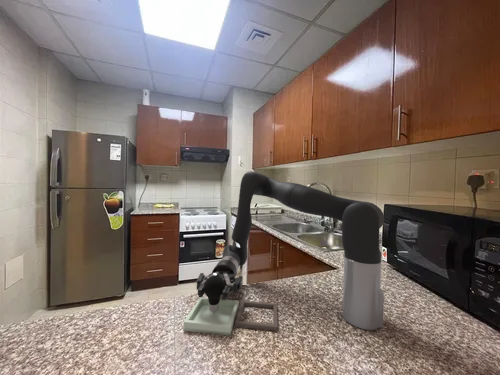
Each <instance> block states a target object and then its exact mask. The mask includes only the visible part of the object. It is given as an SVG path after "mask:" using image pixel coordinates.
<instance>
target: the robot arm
mask: <svg viewBox="0 0 500 375" xmlns="http://www.w3.org/2000/svg"><path fill="white" fill-rule="evenodd" d="M239 186H240V188H239V195H238V196H239V197H238V205H237V213H236V219H235V222H234V226H233V230H232V233H231V240H232V241H234V242H235V243H236V244H238V245H239V246H240V247H239V246H236V245H233V244H227V245H226V246H225V247H224V249H223V251H222V258H221V259H220V260H219V261H218V262H217V263H216V265H215V267H214V268H213V270H212V271H211V273H209V274H208V275H205V273H204V272H200V273H199V275H198V277H197V279H196V290H197V296H198V297H199V299H200V298H202V297H203V296H204V295H205V292H204V283H205V281H206V280H207V279H208V278H209V277H210V276H213V275H217V276H220V277H221V278H222V279H223V280H224V282H225V288H224V290H223V292H222V295H221V297H222V298H221V299H222V300H227V299H228V298H229V296H230V295H231V293H234V294H236V293H238V292H239V291H240V289H241V288H242V286H243V283H244V282H243V280H244V278H243V275H239V276H238V277H236V276H237V274H238V271H239V267H241V266H245V264H246V262H247V260H248V241H249V237H250V233H251V229H252V222H253V220H252V211H251V207H252V206H251V204H252V199H253V197H254V196H260V197H261V196H262V197H266V198H271V199H274V200H276V201H278V202H279V203H280V204H282V205H284V206H285V207H287V208H289V209H293V210H295V211H297V212H300V213H303V214H308V215H313V216H319V217H324V218H325V217H326V218H331V219H334V220H337V221H340V222H341V244H342V248H343V252H344V254H343V287H342V288H343V291H342V292H343V294H342V317H343V318H344V320H345V321H346V322H347V323H349V324H351V325H352V326H354V327H356V328H358V329H359V328H360V329H363V330H367V331H374V330H376V329H379V328H381V329H383V328H384V308H385V306H384V305H385V301H384V300H385V292H384V290H382V289H381V284H382V283H381V281H382V280H381V279H382V277H381V276H382V251H381V249H380V248H381V247H380V229H382V227H383V226H384V223H385V215H384V212H383V210H382V209H381V208H380V207H379V206H378V205H377V204H375V203H373V202H370V201H362V200H355V199H351V198H350V199H349V198H346V197H341V196H338V195H337V196H336V195H334V194H331V193H329V192H326V191H323V190H320V189H318V188H313V187H312V186H308V185H303V184H300V183H295V182H287V181H280V180H277V179H274V178H271V177H269V176H267V175H264V174H262V173H259V172H255V171H252V170H251V171H247V172H245V173H244V174H243V175H242V178H241V181H240V185H239Z"/></svg>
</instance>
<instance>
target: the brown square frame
mask: <svg viewBox="0 0 500 375" xmlns="http://www.w3.org/2000/svg"><path fill="white" fill-rule="evenodd" d="M244 307H252V308H253V307H255V308H263V309H264V308H265V309H273V317H272V318H273V323H266V322H265V323H264V322H256V321H247V320H245V321H243V320H241V319H242V315H243V312H244ZM234 327H237V328H246V329H252V330H253V329H256V330H262V331H263V330H264V331H271V332H272V331H274V332H278V304H277V303H273V302H264V301H252V300H251V301H249V300H241V301H240V304H239V308H238V311H237V315H236V318H235V322H234Z"/></svg>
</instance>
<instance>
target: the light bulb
mask: <svg viewBox="0 0 500 375" xmlns="http://www.w3.org/2000/svg"><path fill="white" fill-rule="evenodd" d="M224 288H225V282H224V280H223V279H222V278H221V277H220V276H217V275H213V276H210V277H209V278H208V279H207V280H206V281H205V283H204V292H205V293H204V295H205V296H206V298H208V300H209V304H210V311H211V312H213V313H215V312H216V311H217V310H218V308H219V301H220V299H221V297H222V292H223V290H224Z"/></svg>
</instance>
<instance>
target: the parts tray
mask: <svg viewBox="0 0 500 375" xmlns="http://www.w3.org/2000/svg"><path fill="white" fill-rule="evenodd" d="M239 301H240V300H237V299H236V300H235V299H225V300H222V298H220V301H219V308H218V310H217V311H216V312H215V313H213V312H211V311H210V304H209V300H208V297H203V296H202V298H200V297H199V299H198V300H197V301H196V303H195V304H194V306H193V307H192V309H191V310H190V312H189V313H188V314H187V316H186V318H185V319H184V321H183V331H184V332H193V333H203V334H210V335H211V334H213V335H223V336H232V331H233V328H234V326H235V321H236V318H237V314H238V311H239V307H240V304H239Z"/></svg>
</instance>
